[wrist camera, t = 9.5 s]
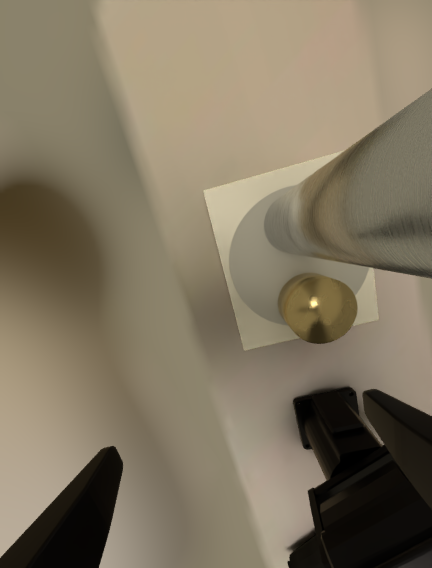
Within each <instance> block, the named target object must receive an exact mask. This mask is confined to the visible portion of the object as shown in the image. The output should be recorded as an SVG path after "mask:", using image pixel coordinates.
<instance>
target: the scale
mask: <svg viewBox="0 0 432 568" xmlns="http://www.w3.org/2000/svg"><path fill="white" fill-rule="evenodd" d="M344 151H345V150H344ZM344 151H341V152H337V153H334V154H330V155H327V156H323V157H320V158H316V159H313V160H309V161H306V162H302V163H299V164H295V165H292V166H288V167H284V168H281V169H277V170H274V171H270V172H267V173H263V174H260V175H256V176H253V177H249V178H246V179H242V180H239V181H235V182H232V183H228V184H225V185H221V186H218V187H214V188H211V189H207V190H203V192H204V196H205V200H206V204H207V208H208V212H209V216H210V220H211V224H212V227H213V231H214V235H215V239H216V243H217V247H218V251H219V255H220V259H221V263H222V267H223V271H224V274H225V278H226V282H227V286H228V290H229V294H230V298H231V302H232V306H233V310H234V314H235V318H236V321H237V325H238V329H239V333H240V337H241V341H242V345H243V349H244V351H246V350H250V349H254V348H259V347H263V346H268V345H272V344H276V343H281V342H285V341H289V340H294V339H298V338H300V337H298V336H297V335H296V334H295V333H294V332H293V330H292V329H291V328H290V327H289V326H288V324H287V323H286V322H285V321H284V319H283V318H282V317H281V315H280V313H279V310H278V297H279V294H280V291H281V289H282V288H283V286H284V285H285V284H286V283H287V282H288V281H289V280H290V279H291V278H293V277H295V276H297V275H299V274H302V273H317V274H321V275H324V276H327V277H330V278H333V279H336V280H339V281H341V282H343V283H345V284H346V285H347V286H348V287H349V288H350V289H351V290H352V291H353V293H354V295H355V297H356V300H357V307H358V309H357V315H356V319H355V321H354V323H353V325H352V326H355V325H359V324H364V323H368V322H372V321H377V320H379V316H378V306H377V297H376V287H375V278H374V268H370V267H364V266H358V265H353V264H347V263H341V262H336V261H330V260H324V259H319V258H313V257H308V256H302V255H296V254H291V253H285V252H282V251H279V250H277V249H276V248H274V247H273V246H272V245H271V244H270V242H269V241H268V239H267V237H266V235H265V231H264V219H265V215H266V213H267V211H268V209H269V207H270V206H271V204H272V203H273V202H274V201H275V200H276V199H278V198H279V197H281V196H282V195H283V194H285V193H286V192H288V191H289V190H290V189H292V188H293V187H295V186H296V185H297V184H299V183H300V182H302V181H303V180H304V179H306V178H307V177H309V176H310V175H311V174H313V173H314V172H316V171H317V170H318V169H320V168H321V167H323V166H324V165H325V164H327V163H328V162H330V161H331V160H332V159H334V158H335V157H337V156H338V155H339V154H341V153H342V152H344Z"/></svg>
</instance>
